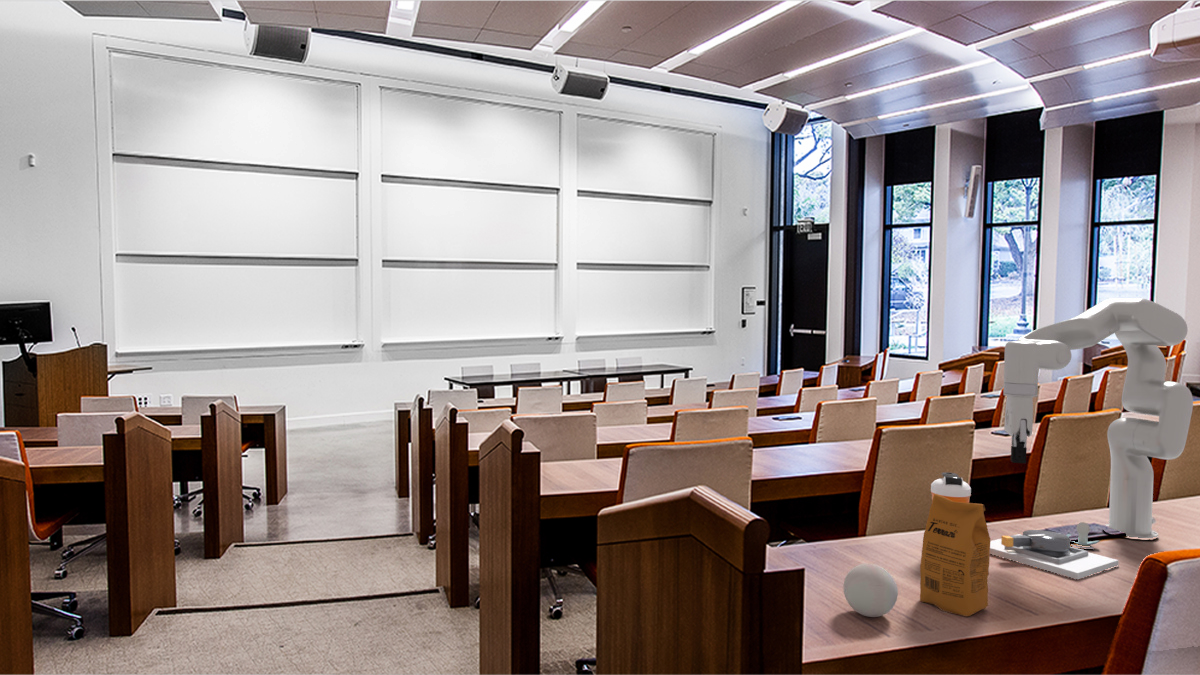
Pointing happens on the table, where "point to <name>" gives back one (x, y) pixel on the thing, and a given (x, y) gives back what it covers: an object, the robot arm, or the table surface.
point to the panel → (1056, 560)
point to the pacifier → (1083, 536)
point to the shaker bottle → (951, 488)
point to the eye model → (870, 590)
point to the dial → (1040, 542)
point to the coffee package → (955, 557)
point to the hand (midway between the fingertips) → (1018, 462)
